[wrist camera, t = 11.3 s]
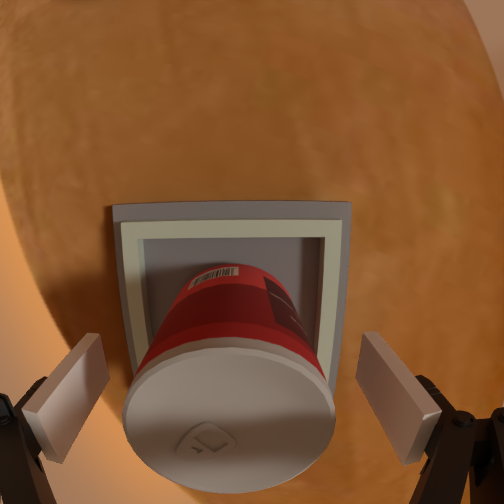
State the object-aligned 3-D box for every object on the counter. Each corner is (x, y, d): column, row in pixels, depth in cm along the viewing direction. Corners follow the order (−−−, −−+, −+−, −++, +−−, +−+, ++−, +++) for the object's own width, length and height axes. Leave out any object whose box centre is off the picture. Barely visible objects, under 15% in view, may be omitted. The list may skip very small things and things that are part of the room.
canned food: (153, 333, 21) (95, 447, 10) (214, 234, 19) (183, 296, 9) (248, 385, 22) (255, 511, 11) (315, 298, 21) (380, 401, 10)
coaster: (117, 204, 20) (105, 206, 18) (346, 201, 20) (358, 203, 18) (142, 395, 23) (135, 412, 21) (329, 394, 23) (336, 411, 21)
